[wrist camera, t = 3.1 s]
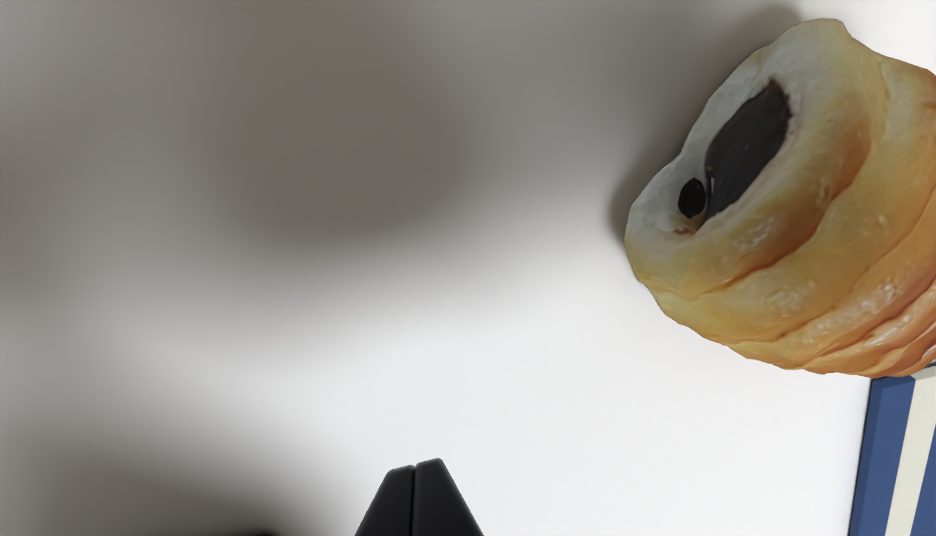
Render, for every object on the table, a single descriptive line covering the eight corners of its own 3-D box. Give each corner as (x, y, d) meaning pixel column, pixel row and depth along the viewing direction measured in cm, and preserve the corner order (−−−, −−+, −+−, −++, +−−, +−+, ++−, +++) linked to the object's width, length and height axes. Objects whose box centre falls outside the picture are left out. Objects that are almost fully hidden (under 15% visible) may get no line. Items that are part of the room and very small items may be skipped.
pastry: (1007, 206, 14) (1203, 270, 10) (817, 389, 16) (928, 491, 13) (767, -7, 11) (931, -17, 7) (576, 251, 13) (634, 336, 10)
